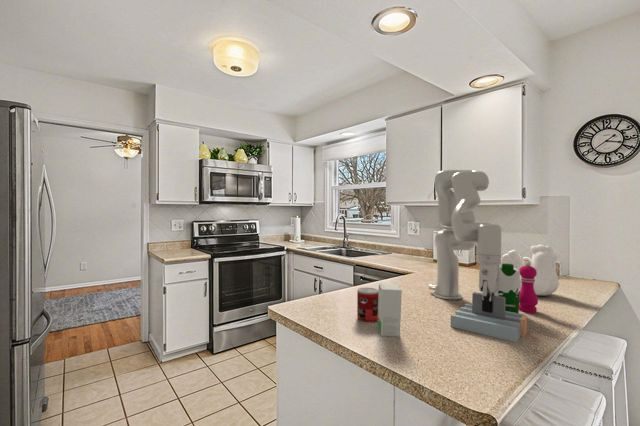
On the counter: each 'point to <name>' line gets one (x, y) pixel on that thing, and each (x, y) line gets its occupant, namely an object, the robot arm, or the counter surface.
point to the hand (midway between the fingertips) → (488, 310)
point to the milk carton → (509, 287)
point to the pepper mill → (528, 289)
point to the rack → (491, 324)
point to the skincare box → (389, 309)
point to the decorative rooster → (537, 267)
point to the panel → (497, 306)
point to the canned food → (367, 304)
